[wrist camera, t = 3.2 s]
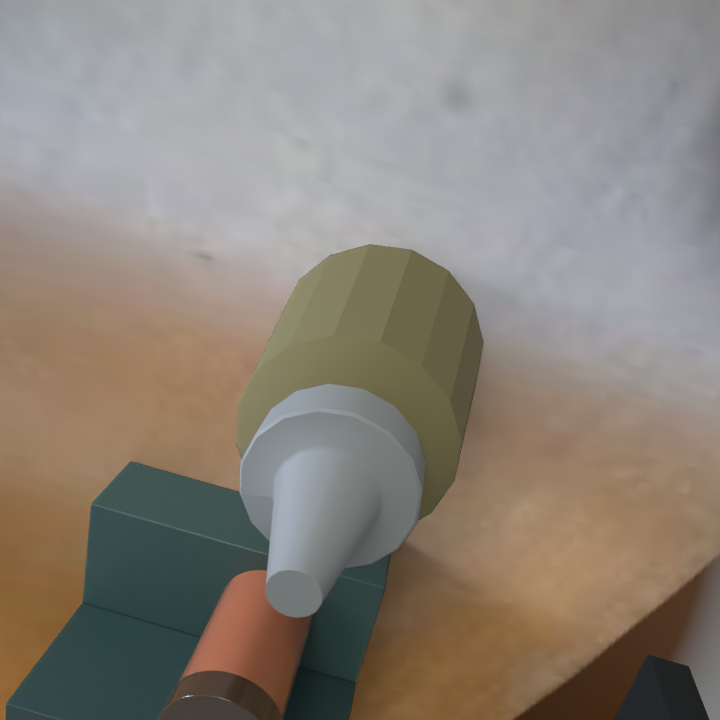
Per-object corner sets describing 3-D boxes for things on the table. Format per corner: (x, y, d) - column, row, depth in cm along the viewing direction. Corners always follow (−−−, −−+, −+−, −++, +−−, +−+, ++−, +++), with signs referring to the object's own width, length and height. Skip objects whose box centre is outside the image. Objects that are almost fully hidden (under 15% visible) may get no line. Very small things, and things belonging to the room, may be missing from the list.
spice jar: (227, 555, 31) (162, 681, 24) (324, 583, 31) (285, 717, 24) (213, 630, 33) (149, 766, 26) (304, 657, 33) (263, 801, 26)
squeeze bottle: (509, 262, 28) (572, 498, 12) (444, 424, 31) (421, 792, 15) (326, 200, 29) (134, 347, 12) (280, 368, 32) (75, 669, 15)
